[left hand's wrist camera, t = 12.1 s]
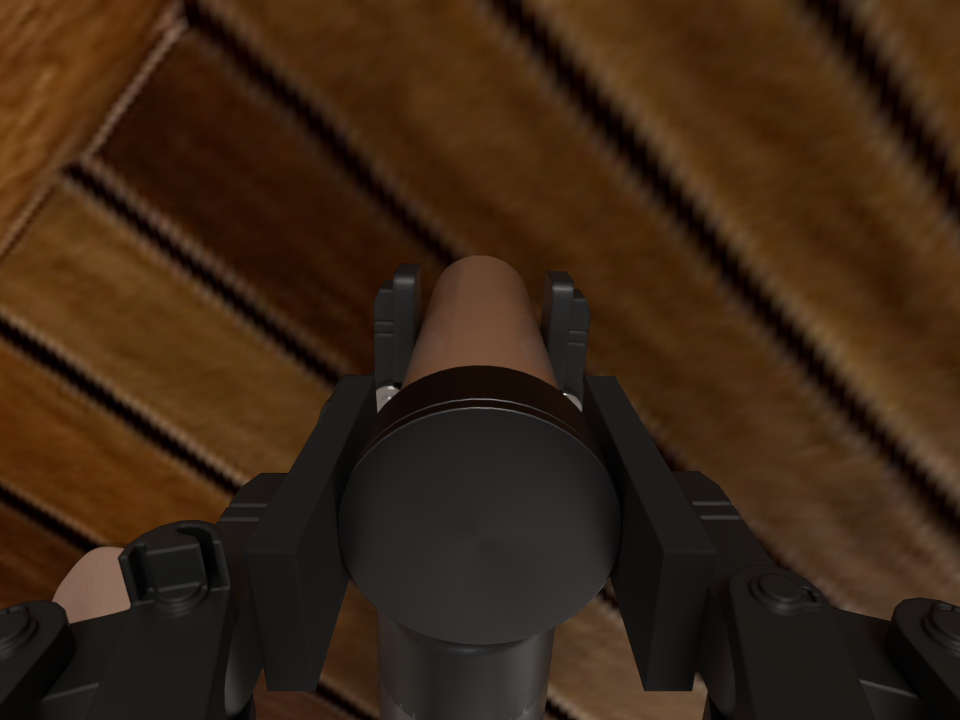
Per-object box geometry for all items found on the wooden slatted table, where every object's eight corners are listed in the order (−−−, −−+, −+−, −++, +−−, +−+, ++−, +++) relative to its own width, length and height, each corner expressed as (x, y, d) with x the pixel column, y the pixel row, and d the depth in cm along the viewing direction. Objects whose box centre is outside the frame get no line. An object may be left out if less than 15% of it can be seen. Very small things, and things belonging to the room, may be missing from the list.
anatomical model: (-12, 586, 26) (238, 633, 27) (49, 531, 30) (267, 575, 31) (0, 774, 31) (213, 809, 32) (52, 706, 34) (242, 739, 35)
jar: (414, 281, 25) (320, 474, 10) (504, 238, 25) (540, 379, 10) (457, 364, 27) (429, 639, 12) (544, 325, 26) (629, 566, 11)
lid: (312, 425, 12) (280, 477, 10) (544, 322, 11) (557, 358, 9) (427, 604, 13) (418, 678, 12) (635, 525, 13) (663, 590, 11)
